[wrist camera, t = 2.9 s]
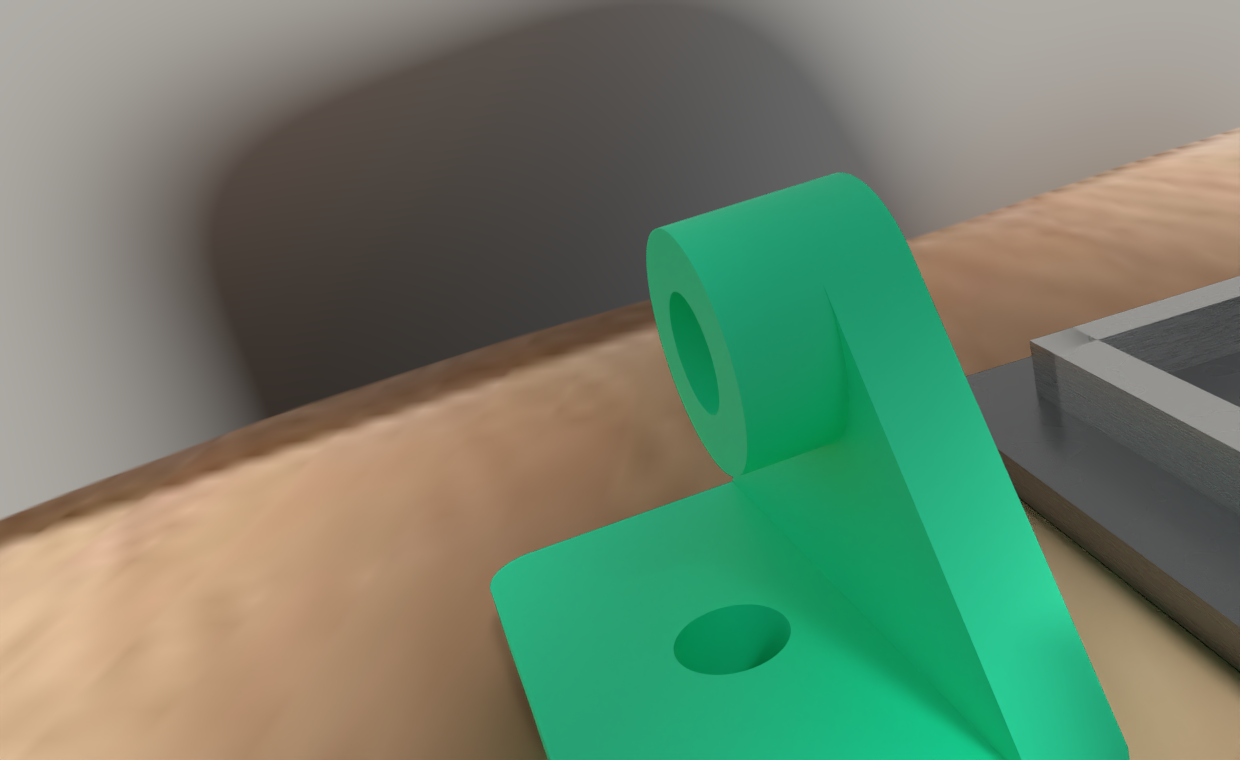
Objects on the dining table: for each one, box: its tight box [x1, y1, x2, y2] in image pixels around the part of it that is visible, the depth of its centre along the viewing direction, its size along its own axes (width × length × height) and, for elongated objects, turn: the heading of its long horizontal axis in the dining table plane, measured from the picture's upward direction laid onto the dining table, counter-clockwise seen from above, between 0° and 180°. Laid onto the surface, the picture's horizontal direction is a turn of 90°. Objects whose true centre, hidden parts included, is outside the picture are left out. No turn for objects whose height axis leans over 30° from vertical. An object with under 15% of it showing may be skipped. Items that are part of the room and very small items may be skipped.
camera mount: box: [490, 173, 1129, 760], centre depth 21 cm, size 12×8×10 cm, turn 15°
